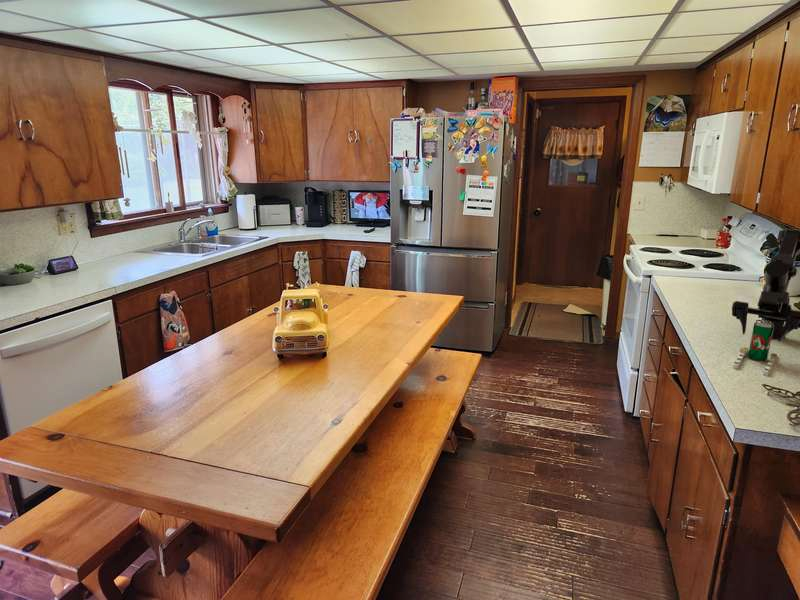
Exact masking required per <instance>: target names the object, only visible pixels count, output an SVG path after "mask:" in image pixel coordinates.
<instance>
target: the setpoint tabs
mask: <svg viewBox="0 0 800 600" xmlns="http://www.w3.org/2000/svg"><path fill="white" fill-rule="evenodd" d="M746 350H747V349H745V348H744V347H740V349H739V353H740V354H741V353H746ZM746 354H747V353H746ZM770 359H774V361H777V359H778V355H775V354H772V353H771V355H770V358H769V360H770Z"/></svg>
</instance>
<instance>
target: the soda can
mask: <svg viewBox="0 0 800 600" xmlns="http://www.w3.org/2000/svg"><path fill="white" fill-rule="evenodd" d="M773 330H774V325H773V322H771V321H767V320H762V319H756V320H755V322H754V324H753V328H752V332H751V338H750V343H749V346H748V347H749V349H748V352H747V356H748V357H749V359H751V360H753V361H758V362H765V361H767V360H768V358H769V353H770V348H771V343H772V340H773V339H772V335H773Z"/></svg>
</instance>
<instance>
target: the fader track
mask: <svg viewBox="0 0 800 600" xmlns="http://www.w3.org/2000/svg"><path fill="white" fill-rule="evenodd" d="M749 347H750V346H747V345H746V346H744V347H743V348H745V349H747V350H746V353H740V354H738V356H737V358H736V360H735V361H734V363H733V365H732V366H733V367H732V369H735V370H737V369H738V367H740V364H741V363H742V361H743V359H744V358H745V357H746V355H747V354H748V352H749ZM771 354H775V355H777V354H778V352H775V351H773V352H772V353H771ZM777 356H778V355H777ZM774 362H775V360H774V359H770V358H769V360H768V362H767V363H766V365H765V368H764V370H763V373H762V375H763V376H766V377H768V375H769V373H770V371H771V369H772V367H773V364H774Z"/></svg>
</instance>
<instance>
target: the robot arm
mask: <svg viewBox="0 0 800 600" xmlns="http://www.w3.org/2000/svg"><path fill="white" fill-rule="evenodd" d="M776 242H778V251H777V254H776V255H774V256H772V257H771V258H770V261H769V262H768V263H766V265H765V267H764V269H763V274H764V283H765V284H764V287H763V290H761V292H760V297H759V299H758V302H757V308H756V307H751V306H749V302H746V301H740V300H735V301H733V302H732V306H731V315H732V316H733V317H735V318H736V320H738V321H740V326H741V331H742V335H745V333H746V330H747V324H748V323H747V322H748V315H756V316H757V317H758V319H761V320H767V321H771V322H773V325H774V330H773V335H772V339H771V340H773V339H778V342H781V341H783V339H786V336H787V334H789V333H791V332H792V331H794V330H798V329H800V310H796V309H793V308H792V305H791V304H790V303H791V302H790V300H791V299H790V292H788V289H789V285H790V281H791V279H792V278H794V277H795V276H797V275H798V269H797V266H795V264H796V257H797V256H799V255H800V229H797V228H796V229H795V228H785V229H781V230H779V231H778V233H777V239H776Z"/></svg>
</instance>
